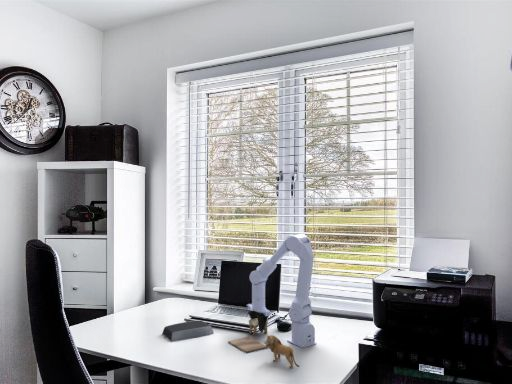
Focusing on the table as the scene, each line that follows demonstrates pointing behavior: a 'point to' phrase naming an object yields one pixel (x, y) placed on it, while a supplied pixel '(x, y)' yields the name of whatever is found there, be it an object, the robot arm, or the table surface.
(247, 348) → the walnut mat
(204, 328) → the external hard drive
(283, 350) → the lion figurine
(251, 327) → the birch stool
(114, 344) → the table surface
